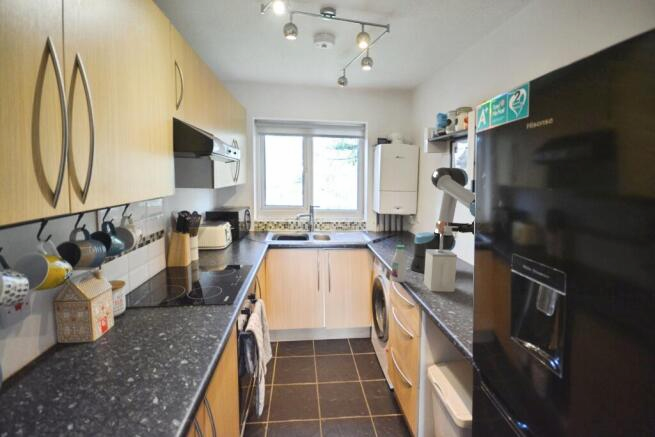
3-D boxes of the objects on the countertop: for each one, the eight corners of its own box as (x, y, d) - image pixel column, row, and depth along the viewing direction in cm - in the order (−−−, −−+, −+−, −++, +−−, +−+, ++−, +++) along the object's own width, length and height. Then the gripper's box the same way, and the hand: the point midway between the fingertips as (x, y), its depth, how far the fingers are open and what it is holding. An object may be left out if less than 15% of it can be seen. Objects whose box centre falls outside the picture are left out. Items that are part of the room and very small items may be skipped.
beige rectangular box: (423, 283, 176) (426, 249, 173) (445, 284, 175) (448, 249, 173) (432, 293, 160) (435, 255, 158) (456, 294, 160) (459, 256, 158)
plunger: (431, 268, 172) (434, 220, 169) (443, 269, 172) (447, 221, 169) (435, 272, 165) (438, 222, 162) (448, 272, 165) (451, 222, 162)
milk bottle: (404, 279, 183) (406, 244, 181) (406, 283, 176) (408, 247, 173) (391, 278, 184) (392, 244, 182) (392, 282, 176) (394, 246, 174)
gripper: (492, 239, 153) (448, 238, 153) (470, 231, 178) (432, 230, 178) (494, 224, 152) (449, 222, 152) (471, 217, 177) (432, 216, 177)
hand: (440, 226), depth 165 cm, fingers open, 13 cm apart
